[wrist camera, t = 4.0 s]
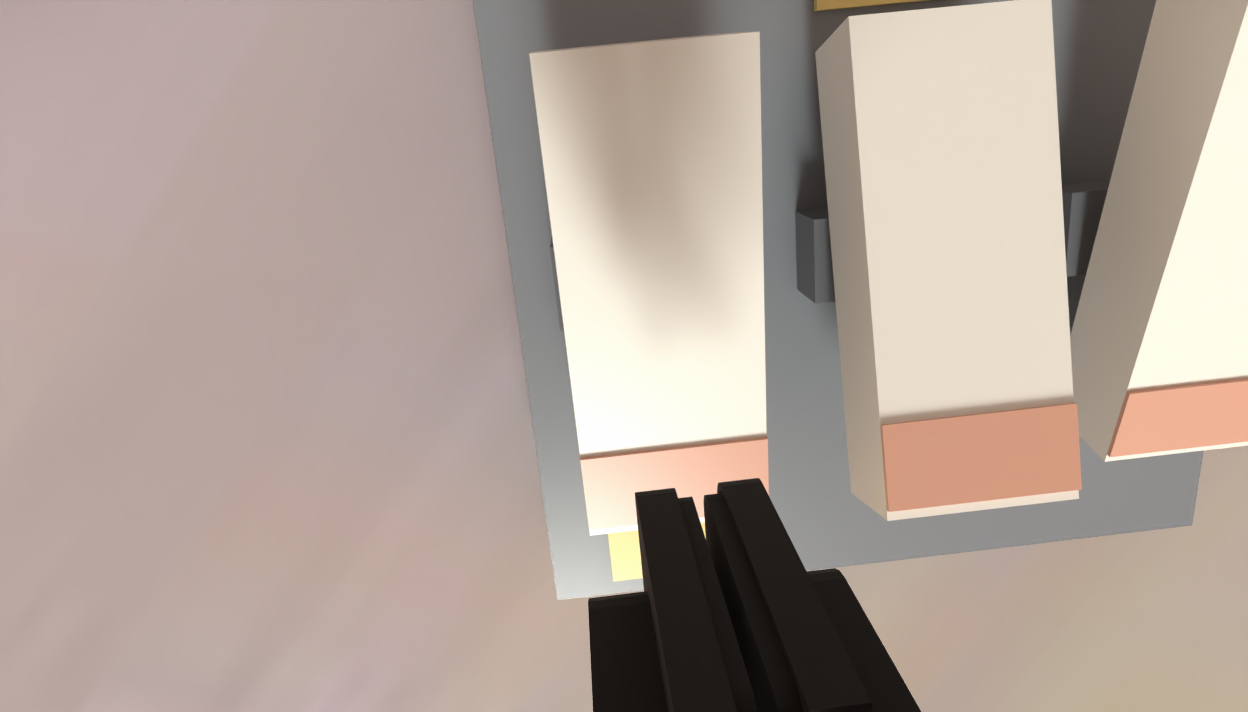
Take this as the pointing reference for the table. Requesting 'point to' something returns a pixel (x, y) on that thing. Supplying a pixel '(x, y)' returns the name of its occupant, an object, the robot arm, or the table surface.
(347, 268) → the table surface
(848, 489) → the switch unit
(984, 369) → the rocker
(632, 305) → the rocker
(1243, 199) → the block
